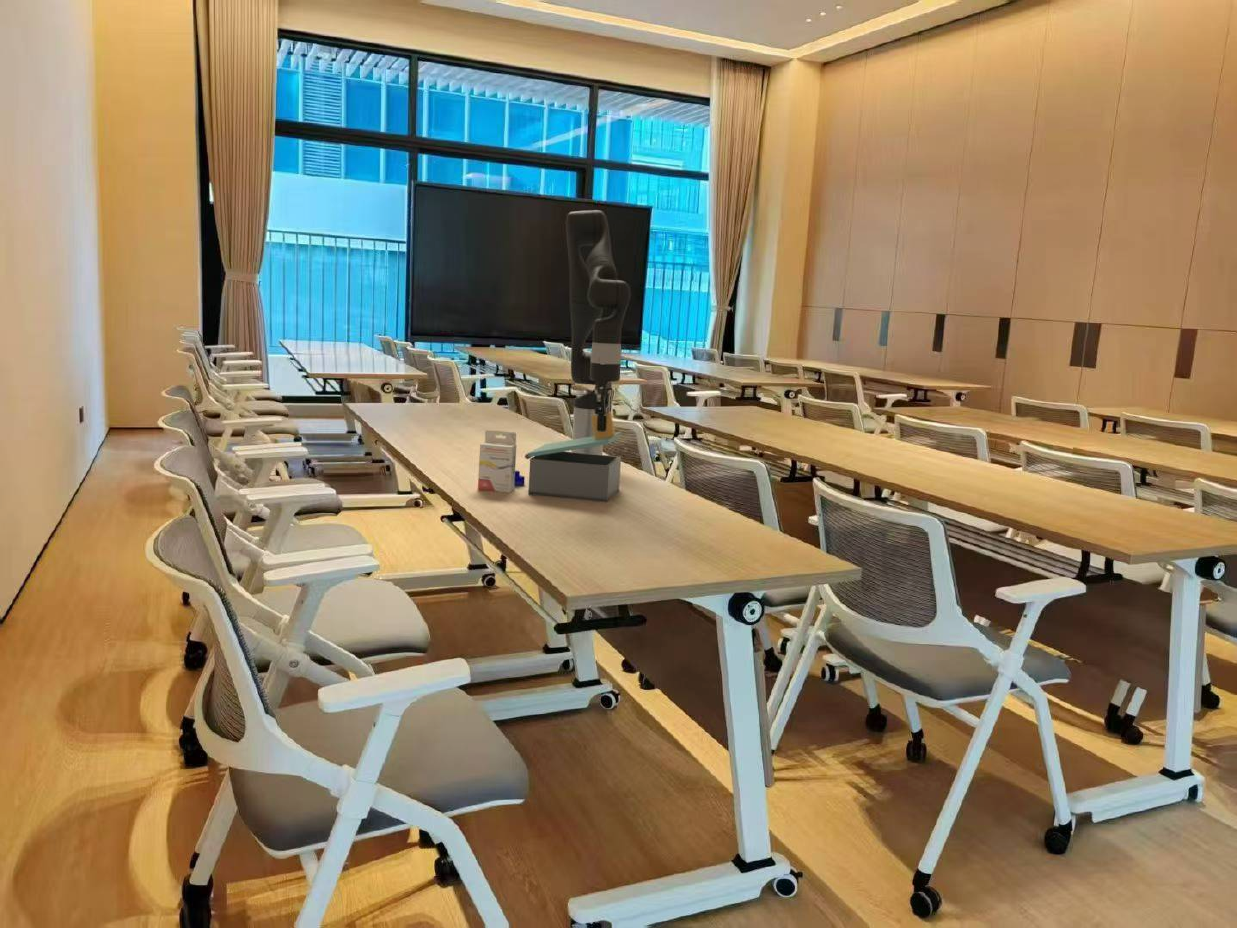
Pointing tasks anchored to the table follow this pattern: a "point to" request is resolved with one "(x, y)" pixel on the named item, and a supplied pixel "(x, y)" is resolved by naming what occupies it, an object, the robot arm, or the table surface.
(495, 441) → the ink cartridge box
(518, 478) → the cable holder
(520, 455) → the table surface
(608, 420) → the lid
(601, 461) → the box
